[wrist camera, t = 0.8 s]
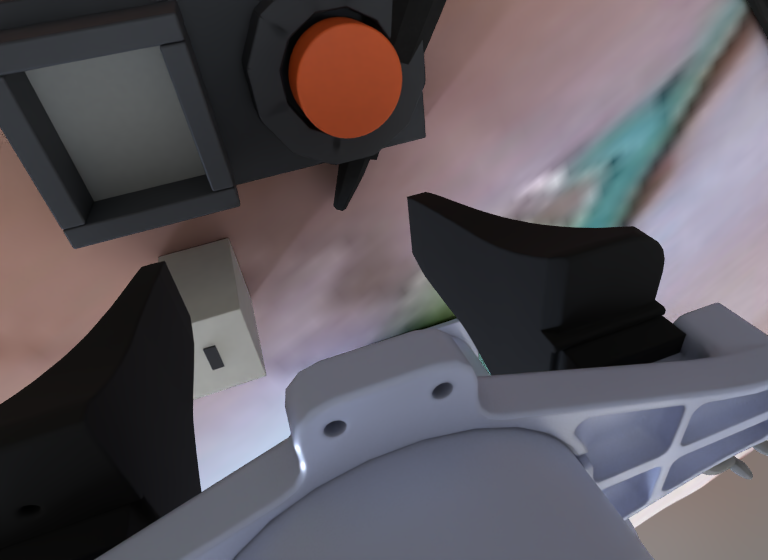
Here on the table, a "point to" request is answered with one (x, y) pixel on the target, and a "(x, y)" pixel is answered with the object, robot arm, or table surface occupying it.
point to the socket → (114, 122)
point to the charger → (217, 316)
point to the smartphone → (761, 13)
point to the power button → (345, 77)
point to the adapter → (262, 76)
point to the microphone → (408, 28)
